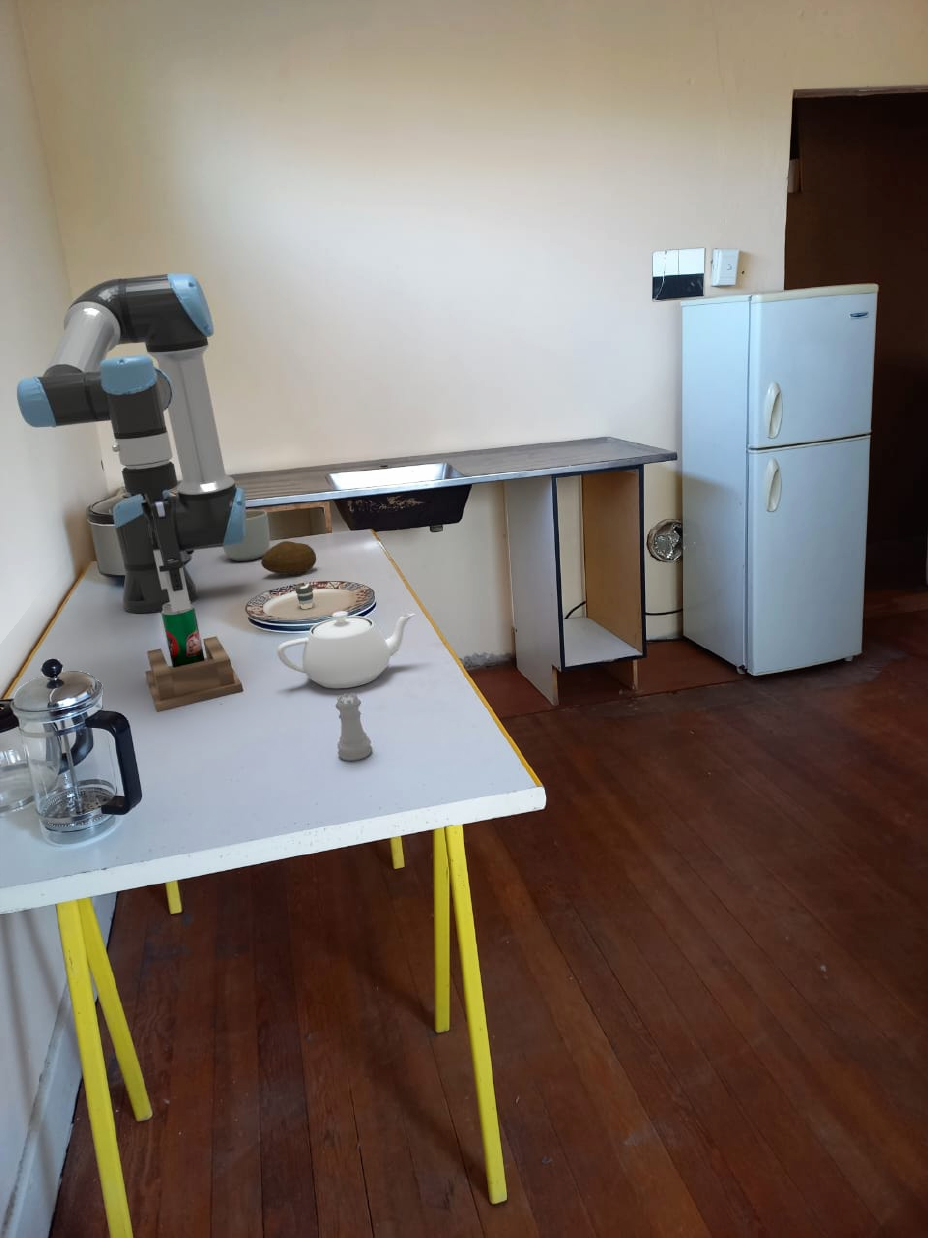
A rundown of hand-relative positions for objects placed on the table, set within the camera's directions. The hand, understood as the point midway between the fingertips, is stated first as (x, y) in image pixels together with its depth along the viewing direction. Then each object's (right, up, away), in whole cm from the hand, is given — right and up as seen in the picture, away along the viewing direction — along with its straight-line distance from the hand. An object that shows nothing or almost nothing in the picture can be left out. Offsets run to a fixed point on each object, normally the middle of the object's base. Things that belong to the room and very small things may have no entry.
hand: (175, 598), depth 140 cm
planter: (-8, +12, +82) cm, 84 cm away
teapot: (+28, -13, 0) cm, 31 cm away
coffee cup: (+14, -2, +38) cm, 40 cm away
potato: (+6, +7, +63) cm, 64 cm away
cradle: (+2, -14, +3) cm, 14 cm away
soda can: (+1, -12, +4) cm, 13 cm away
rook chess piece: (+31, -21, -25) cm, 45 cm away
